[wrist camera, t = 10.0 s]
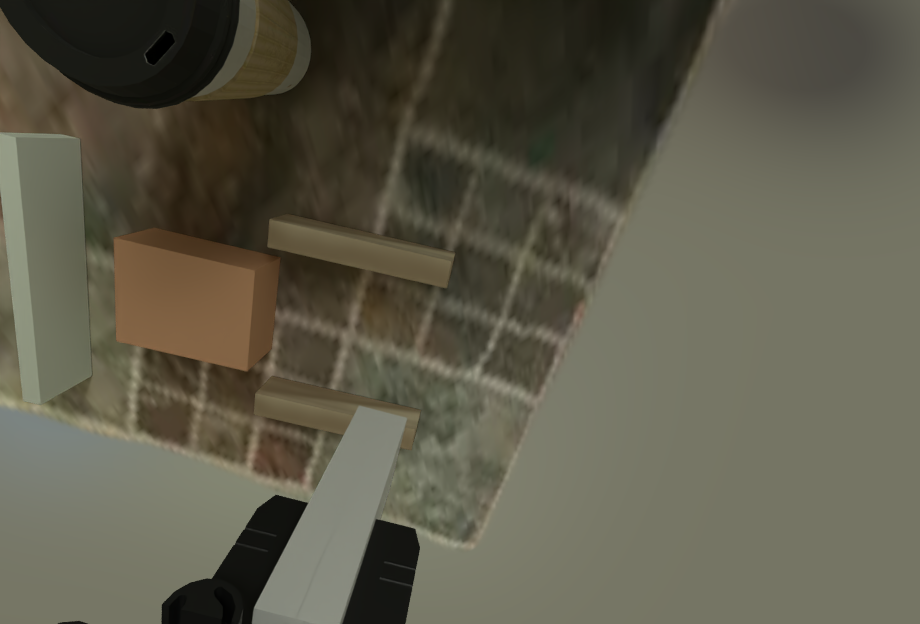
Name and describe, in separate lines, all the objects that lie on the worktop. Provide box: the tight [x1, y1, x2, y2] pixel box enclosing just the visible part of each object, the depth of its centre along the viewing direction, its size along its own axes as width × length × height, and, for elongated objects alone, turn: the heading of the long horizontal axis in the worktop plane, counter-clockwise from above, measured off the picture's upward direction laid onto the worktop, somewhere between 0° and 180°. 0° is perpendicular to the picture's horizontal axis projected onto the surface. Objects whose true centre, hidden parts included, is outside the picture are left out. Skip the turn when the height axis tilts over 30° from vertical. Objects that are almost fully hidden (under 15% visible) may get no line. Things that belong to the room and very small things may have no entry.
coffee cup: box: [0, 0, 311, 109], centre depth 25 cm, size 10×10×15 cm
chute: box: [254, 214, 456, 450], centre depth 37 cm, size 16×13×3 cm
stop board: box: [0, 132, 92, 405], centre depth 36 cm, size 20×1×5 cm, turn 168°
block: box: [114, 228, 281, 371], centre depth 36 cm, size 8×10×4 cm
